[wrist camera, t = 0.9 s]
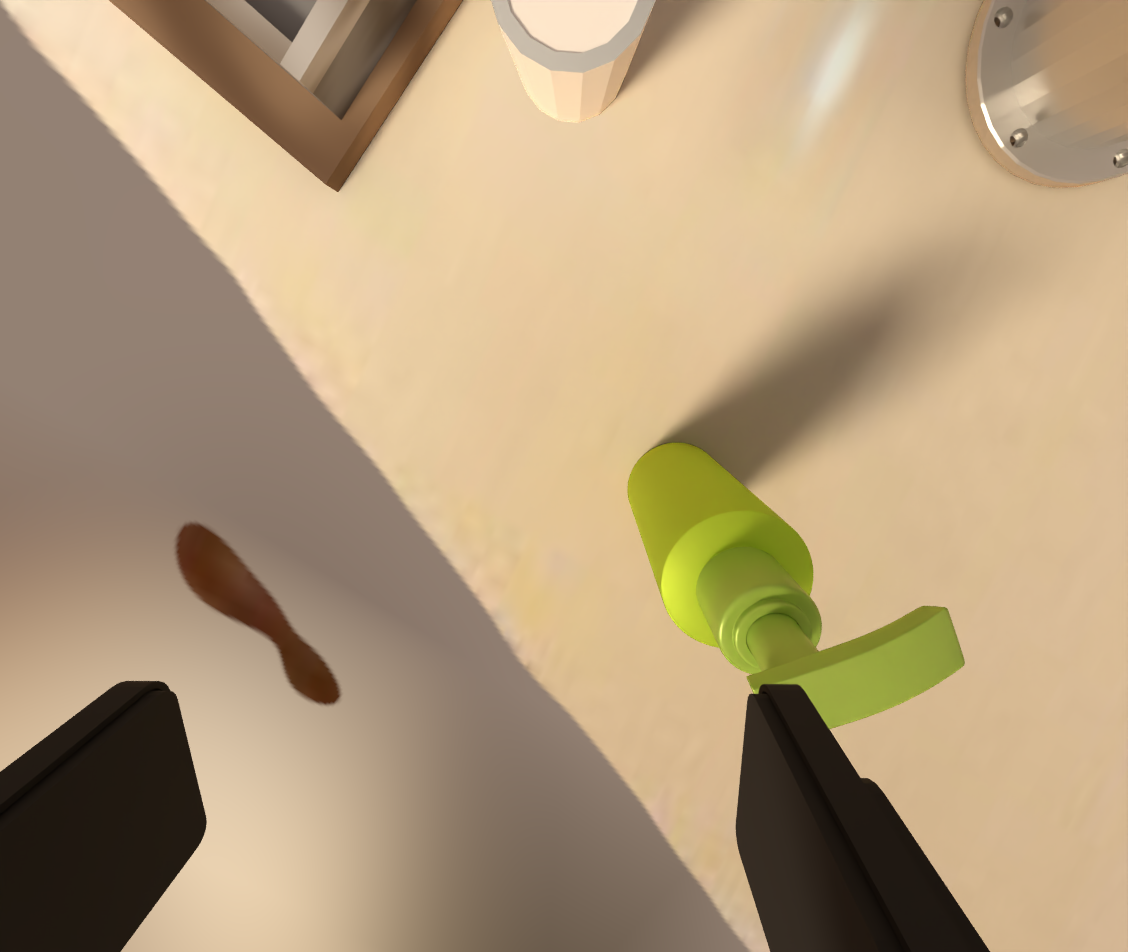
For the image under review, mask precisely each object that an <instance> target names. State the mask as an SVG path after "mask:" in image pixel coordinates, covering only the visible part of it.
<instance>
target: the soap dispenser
mask: <svg viewBox="0 0 1128 952" xmlns="http://www.w3.org/2000/svg"><path fill="white" fill-rule="evenodd" d="M628 498H629V502H630V505H631V508H632V511H633V514H634V517H635V520H636V523H637V526H638V529H639V532H640V535H641V538H642V541H643V544H644V546H645V549H646V552H647V555H648V558H649V561H650V564H651V567H652V570H653V573H654V576H655V579H656V582H657V585H658V588H659V591H660V594H661V597H662V600H663V603H664V605H665V608H666V610H667V612H668V614H669V616H670V617H671V619H672V620H673V622H674V623H675V624H676V625H677V626H678V627H679V628H680V629H681V630H682V631H683V632H684V633H685V634H687V635H688V636H690V637H691V638H693V639H695V640H697V641H699V642H701V643H704V644H706V645H710V646H714V647H719V648H720V650H721V652H722V653H723V655H724V656H725V658H726V659H727V660H728V661H729V662H730V663H731V664H732V665H733V666H735V667H736V668H738V669H740V670H741V671H744V672H746V673H749V674H752V675H749V676H747V680H748V682H749V684H750V687H751V689H752V691H753V693H754V694H758V692H759V688H760V686H761V685H762V684H798V685H800V686H801V687H802V688H803V689H804V691H805V692H806V694H807V695H808V697H809V699H810V700H811V702H812V703H813V705H814V706H815V708H816V709H817V711H818V713H819V714H820V716H821V717H822V719H823V720H824V722H825V724H826V725H827V727H828V728H829V729H831V728H835V727H838V726H841V725H844V724H848V723H851V722H854V721H857V720H860V719H863V718H866V717H869V716H871V715H874V714H877V713H879V712H882V711H885V710H887V709H889V708H892V707H894V706H896V705H899V704H901V703H903V702H905V701H907V700H909V699H911V698H913V697H915V696H917V695H919V694H921V693H923V692H924V691H926V690H928V689H930V688H931V687H933V686H935V685H936V684H938V683H939V682H941V681H943V680H944V679H946V678H947V677H949V676H950V675H952V674H953V673H955V672H956V671H957V670H959V669H960V668H961V667H963V666H964V664H965V661H964V657H963V654H962V651H961V648H960V645H959V642H958V639H957V635H956V632H955V629H954V626H953V623H952V620H951V617H950V615H949V612H948V609H947V608H945V607H937V606H922V607H919V608H917V609H915V610H914V611H912V612H910V613H908V614H907V615H905V616H903V617H902V618H900V619H898V620H896V621H894V622H892V623H890V624H888V625H886V626H884V627H882V628H880V629H878V630H875V631H873V632H871V633H868V634H866V635H864V636H861V637H859V638H856V639H853V640H851V641H848V642H845V643H842V644H840V645H837V646H834V647H831V648H828V649H825V650H822V651H818V650H817V648H816V646H817V644H818V642H819V639H820V636H821V630H822V622H821V616H820V613H819V611H818V608H817V606H816V605H815V603H814V601H813V600H812V599H811V598H810V593H811V589H812V584H813V565H812V560H811V556H810V553H809V551H808V548H807V546H806V544H805V543H804V541H803V540H802V538H801V537H800V536H799V534H798V533H797V532H796V531H795V530H794V529H793V528H792V527H791V526H789V525H788V524H787V523H786V522H785V521H784V520H783V519H781V518H780V517H779V516H778V515H777V514H776V513H775V512H773V511H772V510H771V509H770V508H769V507H768V506H767V505H765V504H764V503H763V502H762V501H761V500H760V499H758V498H757V497H756V496H755V495H754V494H753V493H752V492H750V491H749V490H748V489H747V488H746V487H745V486H744V485H742V484H741V483H740V482H739V481H738V480H737V479H736V478H734V477H733V476H732V475H731V474H730V473H729V472H728V471H726V470H725V469H724V468H723V467H722V466H721V465H720V464H718V463H717V462H716V461H715V460H714V459H713V458H712V457H710V456H709V455H708V454H707V453H706V452H704V451H703V450H701V449H700V448H698V447H696V446H693V445H690V444H686V443H667V444H663V445H660V446H658V447H655V448H653V449H652V450H650V451H648V452H647V453H646V454H644V455H643V456H642V457H641V458H640V459H639V460H638V462H637V463H636V464H635V466H634V468H633V470H632V472H631V474H630V477H629V481H628Z"/></svg>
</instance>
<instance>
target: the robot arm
mask: <svg viewBox="0 0 1128 952" xmlns="http://www.w3.org/2000/svg"><path fill="white" fill-rule="evenodd" d="M965 78H966V96H967V103H968V107H969V111H970V115H971V119H972V123H973V125H974V127H975V129H976V132H977V134H978V136H979V138H980V140H981V142H982V144H983V145H984V147H985V148H986V149H987V150H988V152H989V153H990V154H991V155H992V157H993V158H994V159H995V161H996V162H998V163H999V164H1000V165H1001V166H1003V167H1004V168H1005V169H1007V170H1008V171H1009V172H1010V173H1012V174H1013V175H1015V176H1017V177H1019V178H1022V179H1024V180H1026V181H1028V182H1030V183H1033V184H1038V185H1043V186H1048V187H1053V188H1063V187H1080V186H1085V185H1089V184H1094V183H1098V182H1102V181H1105V180H1109V179H1112V178H1115V177H1118V176H1122V175H1124V174H1127V173H1128V0H984V2H983V4H982V6H981V8H980V11H979V13H978V15H977V17H976V20H975V24H974V28H973V31H972V35H971V38H970V42H969V46H968V54H967V63H966V71H965ZM205 830H206V815H205V811H204V806H203V802H202V798H201V794H200V790H199V786H198V782H197V778H196V773H195V769H194V765H193V761H192V757H191V753H190V748H189V745H188V740H187V736H186V732H185V728H184V724H183V719H182V715H181V711H180V707H179V703H178V699H177V696H176V694H175V693H174V692H172V691H170V689H169V687H168V686H167V685H166V684H165V683H163V682H160V681H125V682H121V683H119V684H116V685H115V686H113V687H112V688H110V689H109V690H108V691H106V692H105V693H104V694H102V695H101V696H100V697H98V698H97V699H96V700H95V701H93V702H92V703H90V704H89V705H88V706H87V707H85V708H84V709H83V710H81V711H80V712H79V713H77V714H76V715H75V716H73V717H72V718H71V719H69V720H68V721H67V722H65V723H64V724H63V725H61V726H60V727H59V728H58V729H56V730H55V731H54V732H52V733H51V734H50V735H48V736H47V737H46V738H44V739H43V740H42V741H40V742H39V743H38V744H36V745H35V746H34V747H32V748H31V749H30V750H29V751H27V752H26V753H25V754H23V755H22V756H21V757H19V758H18V759H17V760H15V761H14V762H13V763H11V764H10V765H9V766H7V767H6V768H5V769H4V770H2V771H1V772H0V952H121V950H122V949H123V947H124V946H125V945H126V943H127V942H128V941H129V939H130V938H131V937H132V935H133V934H134V933H135V931H136V930H137V929H138V927H139V925H140V924H141V923H142V922H143V920H144V919H145V918H146V916H147V915H148V914H149V912H150V911H151V910H152V908H153V907H154V906H155V904H156V903H157V902H158V900H159V899H160V897H161V896H162V895H163V893H164V892H165V891H166V889H167V888H168V887H169V885H170V884H171V883H172V881H173V880H174V879H175V877H176V876H177V874H178V873H179V872H180V870H181V869H182V868H183V866H184V865H185V864H186V862H187V861H188V860H189V858H190V857H191V856H192V854H193V853H194V851H195V850H196V849H197V847H198V846H199V844H200V843H201V840H202V838H203V836H204V833H205ZM736 838H737V844H738V849H739V853H740V856H741V860H742V863H743V866H744V869H745V872H746V876H747V879H748V882H749V885H750V888H751V891H752V895H753V898H754V901H755V904H756V907H757V911H758V914H759V917H760V920H761V923H762V927H763V930H764V933H765V936H766V939H767V942H768V946H769V949H770V952H990V951H989V949H988V948H987V946H986V945H985V943H984V942H983V940H982V939H981V937H980V936H979V934H978V933H977V931H976V930H975V928H974V927H973V925H972V924H971V923H970V921H969V920H968V918H967V917H966V915H965V914H964V912H963V911H962V909H961V908H960V906H959V905H958V903H957V902H956V900H955V899H954V897H953V896H952V894H951V893H950V891H949V890H948V888H947V887H946V885H945V884H944V882H943V881H942V879H941V878H940V876H939V875H938V873H937V872H936V870H935V869H934V867H933V866H932V864H931V863H930V861H929V860H928V858H927V857H926V855H925V854H924V852H923V851H922V849H921V848H920V846H919V845H918V843H917V842H916V840H915V839H914V837H913V836H912V834H911V833H910V831H909V830H908V828H907V827H906V825H905V824H904V822H903V821H902V819H901V818H900V817H899V815H898V814H897V812H896V811H895V809H894V808H893V806H892V805H891V803H890V802H889V800H888V799H887V797H886V796H885V794H884V793H883V792H882V790H881V789H880V788H879V787H878V785H877V784H876V783H874V782H873V781H871V780H870V779H868V778H860V777H859V775H858V774H857V772H856V770H855V769H854V767H853V766H852V764H851V763H850V761H849V759H848V758H847V756H846V755H845V753H844V752H843V750H842V749H841V747H840V745H839V744H838V742H837V741H836V739H835V738H834V736H833V734H832V733H831V731H830V730H829V728H828V727H827V725H826V724H825V722H824V720H823V719H822V717H821V716H820V714H819V713H818V711H817V709H816V708H815V706H814V705H813V703H812V702H811V700H810V699H809V697H808V695H807V694H806V692H805V691H804V689H803V688H802V687H801V686H800V685H798V684H762V685H761V686H760V688H759V692H758V694H749V696H748V701H747V710H746V721H745V732H744V742H743V753H742V764H741V775H740V785H739V796H738V807H737V817H736Z"/></svg>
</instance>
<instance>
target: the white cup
mask: <svg viewBox="0 0 1128 952" xmlns="http://www.w3.org/2000/svg"><path fill="white" fill-rule="evenodd" d="M655 1H656V0H491V2H492V5H493V8H494V12H495V15H496V18H497V21H498V25H499V27H500V29H501V32H502V34H503V37H504V39H505V42H506V44H507V47H508V49H509V51H510V54H511V56H512V59H513V61H514V64H515V66H516V69H517V71H518V73H519V76H520V78H521V81H522V83H523V86H524V88H525V91H526V93H527V94H528V95H529V97H530V98H531V99H532V101H533V102H534V103H535V104H536V106H537V107H538V108H539V110H540V111H542V112H544V113H545V114H547V115H549V116H551V117H553V118H554V119H556V120H558V121H566V122H582V121H584V120H587V119H590V118H592V117H595V116H597V115H599V114H600V113H601V112H602V111H603V110H604V109H605V108H606V107H607V106H608V105H609V104H610V103H612V102H613V101H614V100H615V98H616V96H617V94H618V91H619V89H620V87H621V85H622V83H623V80H624V78H625V76H626V73H627V71H628V68H629V66H630V63H631V61H632V58H633V56H634V53H635V51H636V48H637V46H638V43H639V41H640V38H641V36H642V33H643V31H644V28H645V26H646V23H647V21H648V18H649V16H650V13H651V11H652V9H653V6H654V4H655Z"/></svg>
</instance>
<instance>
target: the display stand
mask: <svg viewBox="0 0 1128 952" xmlns="http://www.w3.org/2000/svg"><path fill="white" fill-rule="evenodd" d="M109 1H110V2H112V3H113V4H114V5H115V6H116V7H117V8H119V9H120V10H121V11H122V12H123V13H125V14H126V15H127V16H128V17H129V18H130V19H132V20H133V21H134V22H135V23H136V24H137V25H139V26H140V27H141V28H142V29H143V30H145V31H146V32H147V33H148V34H149V35H150V36H152V37H153V38H154V39H155V40H156V41H157V42H159V43H160V44H161V45H162V46H163V47H165V48H166V49H167V50H168V51H169V52H170V53H172V54H173V55H174V56H175V57H176V58H177V59H179V60H180V61H181V62H182V63H183V64H184V65H186V66H187V67H188V68H189V69H190V70H192V71H193V72H194V73H195V74H196V75H197V76H199V77H200V78H201V79H202V80H203V81H204V82H206V83H207V84H208V85H209V86H210V87H212V88H213V89H214V90H215V91H216V92H217V93H219V94H220V95H221V96H222V97H223V98H224V99H226V100H227V101H228V102H229V103H230V104H232V105H233V106H234V107H235V108H236V109H237V110H239V111H240V112H241V113H242V114H243V115H244V116H246V117H247V118H248V119H249V120H250V121H252V122H253V123H254V124H255V125H256V126H257V127H259V128H260V129H261V130H262V131H263V132H264V133H266V134H267V135H268V136H269V137H270V138H272V139H273V140H274V141H275V142H276V143H277V144H279V145H280V146H281V147H282V148H283V149H284V150H286V151H287V152H288V153H289V154H290V155H292V156H293V157H294V158H295V159H296V160H297V161H299V162H300V163H301V164H302V165H303V166H304V167H306V168H307V169H308V170H309V171H310V172H312V173H313V174H314V175H315V176H316V177H317V178H319V179H320V180H321V181H322V182H323V183H324V184H326V185H327V186H329V187H331V188H332V189H334V190H335V191H337V192H338V191H339V190H340V188H341V187H342V185H343V183H344V182H345V180H346V179H347V177H348V176H349V174H350V173H351V171H352V170H353V168H354V167H355V165H356V163H357V162H358V160H359V159H360V157H361V156H362V154H363V153H364V151H365V150H366V148H367V147H368V145H369V143H370V142H371V140H372V139H373V137H374V136H375V134H376V133H377V131H378V130H379V128H380V127H381V125H382V123H383V122H384V120H385V119H386V117H387V116H388V114H389V113H390V111H391V110H392V108H393V107H394V105H395V103H396V102H397V100H398V99H399V97H400V96H401V94H402V93H403V91H404V90H405V88H406V87H407V85H408V83H409V82H410V80H411V79H412V77H413V76H414V74H415V73H416V71H417V70H418V68H419V67H420V65H421V63H422V62H423V60H424V59H425V57H426V56H427V54H428V53H429V51H430V50H431V48H432V47H433V45H434V43H435V42H436V40H437V39H438V37H439V36H440V34H441V33H442V31H443V30H444V28H445V27H446V25H447V23H448V22H449V20H450V19H451V17H452V16H453V14H454V13H455V11H456V10H457V8H458V7H459V5H460V3H461V2H462V0H109Z"/></svg>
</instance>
